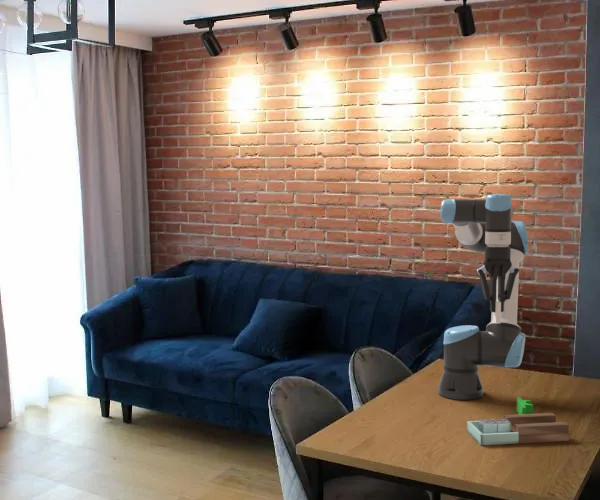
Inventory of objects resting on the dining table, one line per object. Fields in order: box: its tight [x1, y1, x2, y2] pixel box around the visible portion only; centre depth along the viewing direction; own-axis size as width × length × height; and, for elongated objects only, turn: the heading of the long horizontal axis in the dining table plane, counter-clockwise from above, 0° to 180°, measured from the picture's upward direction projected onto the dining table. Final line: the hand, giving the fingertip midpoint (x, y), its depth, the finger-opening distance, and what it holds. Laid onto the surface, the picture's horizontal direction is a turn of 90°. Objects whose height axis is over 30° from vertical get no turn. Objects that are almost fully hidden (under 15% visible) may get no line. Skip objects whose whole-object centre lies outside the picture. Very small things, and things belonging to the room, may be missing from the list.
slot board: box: [503, 412, 570, 444], centre depth 226 cm, size 12×15×4 cm
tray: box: [466, 420, 519, 446], centre depth 225 cm, size 12×11×3 cm
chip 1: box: [478, 418, 497, 434], centre depth 225 cm, size 4×4×4 cm
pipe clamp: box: [516, 396, 534, 415], centre depth 243 cm, size 11×4×5 cm, turn 173°
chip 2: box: [492, 418, 511, 433], centre depth 225 cm, size 4×4×4 cm
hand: (496, 322), depth 237 cm, fingers closed
